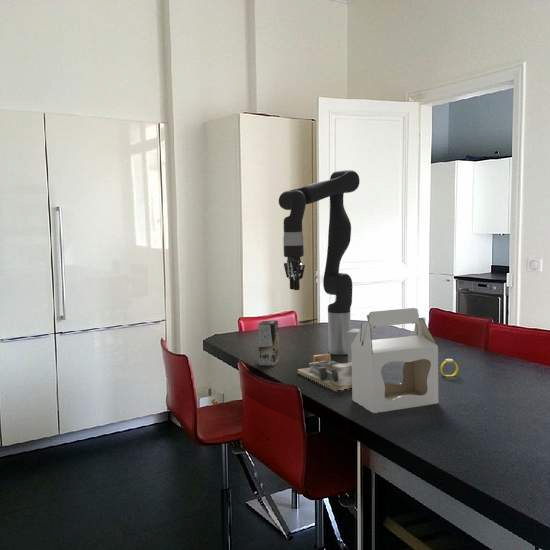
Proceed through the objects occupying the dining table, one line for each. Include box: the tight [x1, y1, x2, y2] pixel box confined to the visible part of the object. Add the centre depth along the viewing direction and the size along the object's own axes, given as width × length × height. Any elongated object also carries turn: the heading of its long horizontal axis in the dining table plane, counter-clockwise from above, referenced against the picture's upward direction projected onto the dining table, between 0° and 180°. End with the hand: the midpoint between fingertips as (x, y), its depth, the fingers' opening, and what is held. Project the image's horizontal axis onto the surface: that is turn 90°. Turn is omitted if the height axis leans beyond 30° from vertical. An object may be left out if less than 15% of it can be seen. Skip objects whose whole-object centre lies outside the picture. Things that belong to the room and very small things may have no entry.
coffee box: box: [257, 320, 280, 367], centre depth 225 cm, size 9×6×16 cm
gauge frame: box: [297, 360, 352, 392], centre depth 199 cm, size 15×26×8 cm, turn 24°
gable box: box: [351, 307, 439, 414], centre depth 171 cm, size 22×13×28 cm, turn 109°
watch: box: [439, 358, 459, 378], centre depth 198 cm, size 6×3×6 cm, turn 94°
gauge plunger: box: [308, 352, 337, 371], centre depth 204 cm, size 10×6×5 cm, turn 114°
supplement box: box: [347, 328, 361, 363], centre depth 221 cm, size 7×7×13 cm
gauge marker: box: [319, 367, 327, 379], centre depth 193 cm, size 2×1×4 cm, turn 114°
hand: (294, 289), depth 219 cm, fingers open, 2 cm apart
